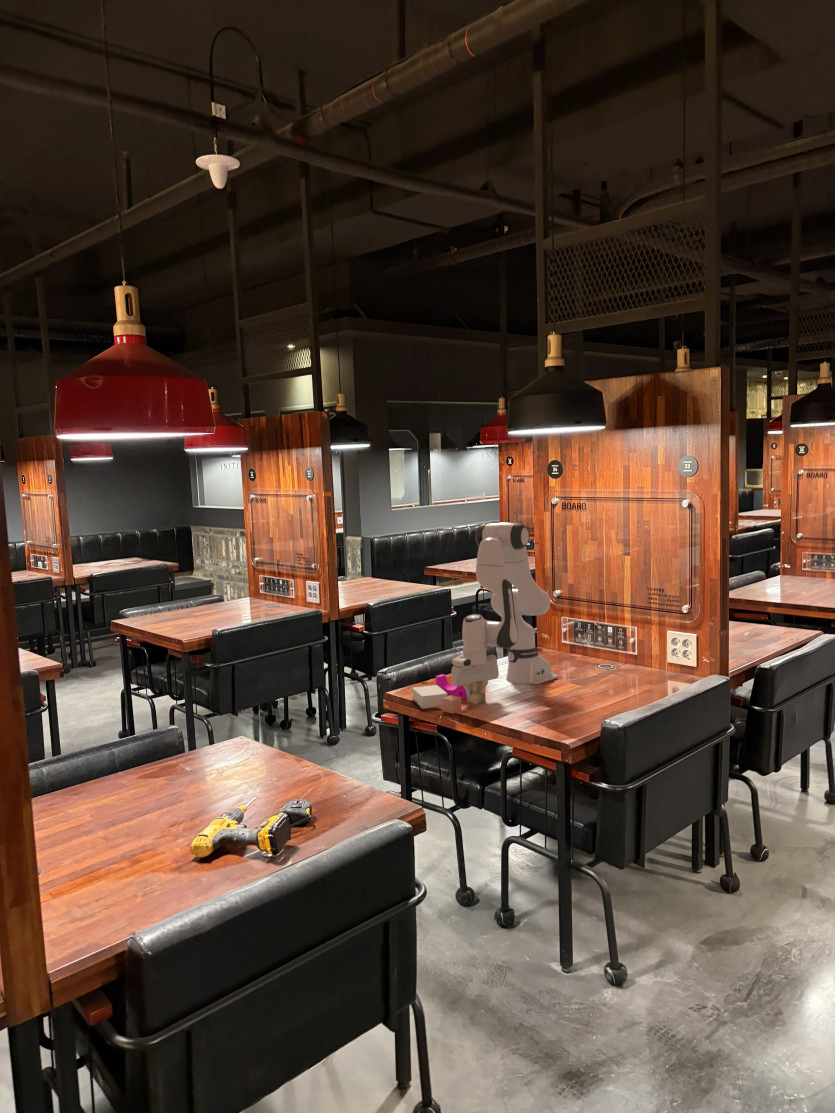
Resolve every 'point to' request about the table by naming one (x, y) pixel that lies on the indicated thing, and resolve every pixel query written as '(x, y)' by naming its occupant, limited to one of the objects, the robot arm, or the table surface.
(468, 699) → the maple block
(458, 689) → the toy block
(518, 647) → the robot arm
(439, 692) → the base block
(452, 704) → the terracotta cube
